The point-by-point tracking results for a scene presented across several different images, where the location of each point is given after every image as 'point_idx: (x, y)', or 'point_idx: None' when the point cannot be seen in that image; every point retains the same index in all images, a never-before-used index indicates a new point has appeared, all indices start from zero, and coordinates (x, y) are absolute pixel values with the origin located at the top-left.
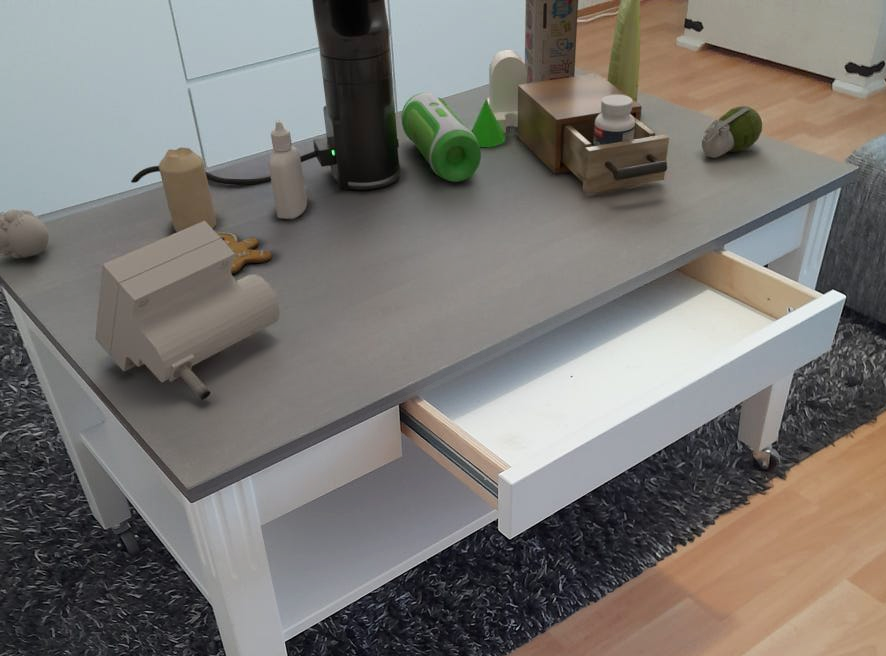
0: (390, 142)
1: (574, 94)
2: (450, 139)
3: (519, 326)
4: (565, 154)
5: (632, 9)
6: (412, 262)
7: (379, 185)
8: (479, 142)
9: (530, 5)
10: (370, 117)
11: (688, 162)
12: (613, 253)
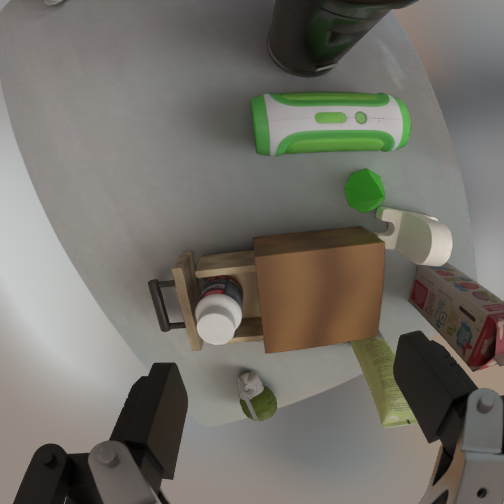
0: (284, 49)
1: (328, 298)
2: (253, 112)
3: (23, 153)
4: (250, 254)
5: (380, 407)
6: (109, 73)
7: (268, 49)
8: (352, 178)
9: (489, 303)
10: (274, 13)
11: (243, 356)
12: (89, 242)
